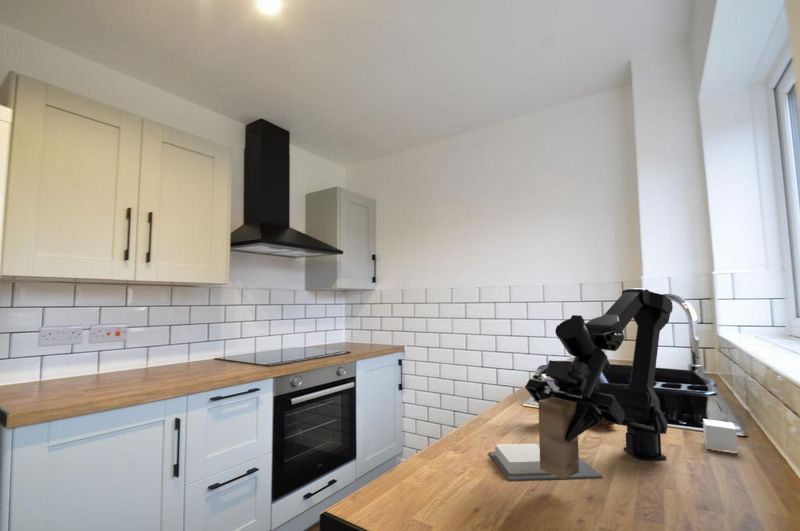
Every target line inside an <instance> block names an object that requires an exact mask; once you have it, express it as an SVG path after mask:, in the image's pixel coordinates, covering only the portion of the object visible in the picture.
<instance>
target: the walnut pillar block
mask: <svg viewBox="0 0 800 531" xmlns="http://www.w3.org/2000/svg"><path fill="white" fill-rule="evenodd" d="M538 402H539V403H538V434H539V435H538V436H539V437H538V438H539V441H538V442H539V446H540V469H541V470H544V471H546V472H548V473H550V474H553V475H555V476H557V477H559V478H562V479H561V480H565V479H564V478H567V477H569V476H572V475H574V474H576V473H579V458H580V457H579V456H580V455H579V435H578V436H577V437H575V438H574V439H573V440H571V441H570V442H567V441H566V439H565V436H566V433H567V430H568V428H569V426H570V424H571V422H572V419H573V417H574V415H575V413H576V404H577V403H576V402H572V401H568V400H565V399H561V398H557V397H552V398H548V399H543V400H539V401H538Z"/></svg>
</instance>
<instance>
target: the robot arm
mask: <svg viewBox="0 0 800 531" xmlns="http://www.w3.org/2000/svg"><path fill="white" fill-rule="evenodd" d="M673 307H674V306H673V301H672V300H671V298H668V297H667V296H666V295H665V294H661V293H657V292H653V291H650V290H649V289H646V288H643V287H638V288H637V287H635V288H633V287H629V288H628V287H627V288H625V289H623V290H622V292H621V295H620V297H618V299H616V300H615V302H614V303H613V304H612V305H611V306H610V308H609V309H608V310H607V311H606V312H605V313H604V314H603V315H601V316H598V317H595V318H592V319H590V320H588V321H587V322H586V321H585V320H584V318H583V316H582V315H580V314H579V315H575V314H573V315H571V316H570V318H568V319H565V320H564V321H562V322H560V324H557V325H556V327H555V336H556V337H557V338H558V340H559V341H560V342H561V344H562V345H563V347H564V349H565V350H566V352H567V353H568V354H569V355H570V356H572V357H574V358H573V360H572V362H571V363H568V362H564V361H557V360H552V359H551V360H548V364H547V368H546V372H545V374H546V376H547V377H551V378H552V379H554V380H555V381H554V384H555V385H556V386H557V387H559V391H558V390H554V389H552V388H551V387H550V386H549V384H548V383H547V382H546V381H542V380H541V379H536V378H530V379H528V381H527V383H526V385H525V386H524V388H525V390H526V391H527V392H528V393H529V395H530V396H531V397H532V398H533V400H534V401H535V403H537V404H539V402H538V401H539V400H543V399H548V398H552V397H557V398H561V399H565V400H568V401H572V402H576V403H577V404H576V413H575V415H574V417H573V419H572V422H571V424H570V426H569V428H568V430H567V433H566V436H565V439H566V441H567V442H570V441H571V440H573V439H574V438H575V437H577V436H578V437H579V436H580V435H581V434H583V433H584V432H586V431H588V430H589V429H591V428H593V427H594V426H598V425H597V424H603V422H604V421H603V420H602V418H603V417H604V419H605V420H606V422H610V423H614V425H618V426H624V427H626V433H625V447H623V451H625V452H627V453H628V454H631V455H632V456H633V457H635V458H636V459H639V460H641V461H644V460H645V461H647V460H648V461H649V460H653V461H654V460H667V456H666V455H665V454H662V438H661V437H662V436H661V435H666V434H667V432H668V427H669V426H668V420H667V418H666V417H665V415H664V413H663V411H662V410H661V403H660V399H659V397H658V395H657V393H656V392H655V389H654V385H655V376H656V369H657V368H656V367H657V358H658V349H659V343H660V342H659V341H660V333H661V331H662V329H663V328H664V327H665V326H666V325H668V323H669V321H670V318H671V314H672V312H673ZM632 319H633V320H634V322H635V324H636V325H637V328H636V336H635V343H634V351H633V359H632V366H631V373H630V374H631V375H630V380H629V381H630V382H629V383H628V384H627V386H625V387H622V386H621V388H620V389H619V398H618V399H616V397H615V395H614V394H610V393H605V392H599V389H600V387H601V385H600V383H599V382H598V381H599V378H600V376H601V374H602V373H603V370H604V369H607V370H608V369H611V363H610V360H608V355H607V354H606V353H605V351H610V352H611V351H612V352H616V351H617V350H619V348H620V347H621V345H622V344H623V341H624V339H625V336H624V329H625V328H626V327H627V325H628V324H630V322H631V321H632ZM595 390H598V391H595Z"/></svg>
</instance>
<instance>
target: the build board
mask: <svg viewBox="0 0 800 531" xmlns="http://www.w3.org/2000/svg"><path fill="white" fill-rule="evenodd" d="M494 446H495V448H494V451H488V455H489V456H490V457H491V459H492V461H494V463H495V464H496V465H497V467H498V468H499V470H500V471H501V473H502V474H503V476H505V478H506V479H507V480H508V481H536V480H537V481H538V480H539V481H540V480H542V481H543V480H569V479H571V480H573V479H576V480H577V479H598V478H599V479H602V478H603V475H602V474H601V473H600V472H599V471H597V470H596V469H595V468H593V467H592V466H591V465H590V464H588V463H587V462H586V461H585V460H583V459H582V458H581V457H579V473H576V474H574V475H572V476H569V477H567V478H564V479H562V478H559V477H557V476H555V475H553V474H550V473H548V472H546V471H544V470H541V469H540V444H539V445H538V443H512V444H511V443H508V444H507V443H505V444H494Z"/></svg>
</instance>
